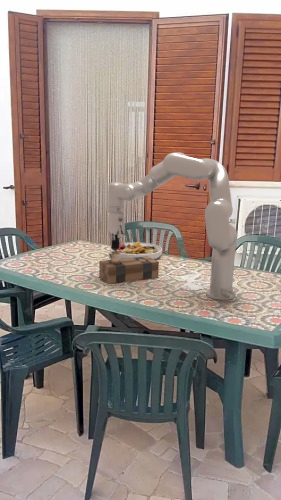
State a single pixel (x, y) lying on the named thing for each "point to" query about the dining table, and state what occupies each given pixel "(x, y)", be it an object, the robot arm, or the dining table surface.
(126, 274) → the banded wooden block
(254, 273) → the dining table surface
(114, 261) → the beech peg
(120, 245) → the bowl
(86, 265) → the dining table surface
